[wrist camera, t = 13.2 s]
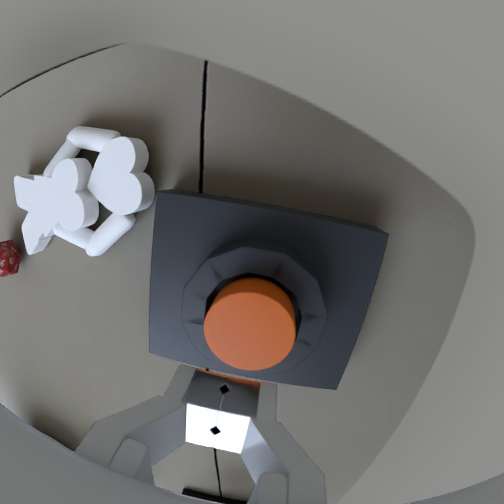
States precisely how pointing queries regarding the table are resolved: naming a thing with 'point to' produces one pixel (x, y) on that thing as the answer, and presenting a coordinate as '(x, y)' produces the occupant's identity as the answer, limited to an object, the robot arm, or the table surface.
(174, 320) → the control block
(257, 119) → the table surface
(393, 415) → the table surface
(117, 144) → the white abstract figurine
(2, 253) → the die
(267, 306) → the button
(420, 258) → the table surface
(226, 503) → the bracket
